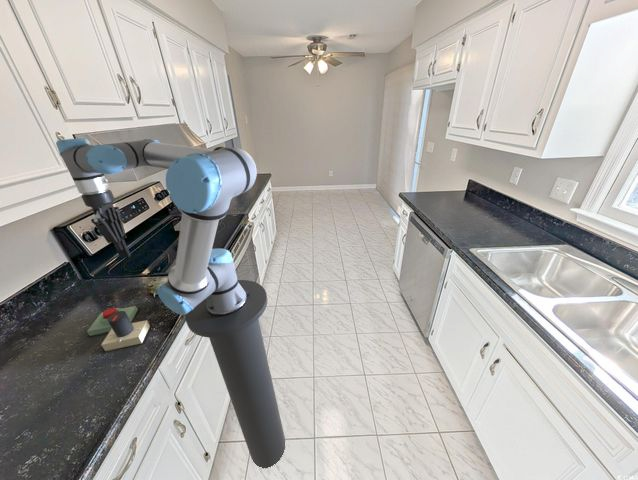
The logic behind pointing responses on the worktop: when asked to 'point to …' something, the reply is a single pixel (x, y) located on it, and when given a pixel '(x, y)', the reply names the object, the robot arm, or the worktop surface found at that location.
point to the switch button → (109, 312)
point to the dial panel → (126, 337)
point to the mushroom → (155, 285)
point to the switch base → (103, 325)
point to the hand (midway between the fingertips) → (125, 256)
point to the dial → (120, 324)
